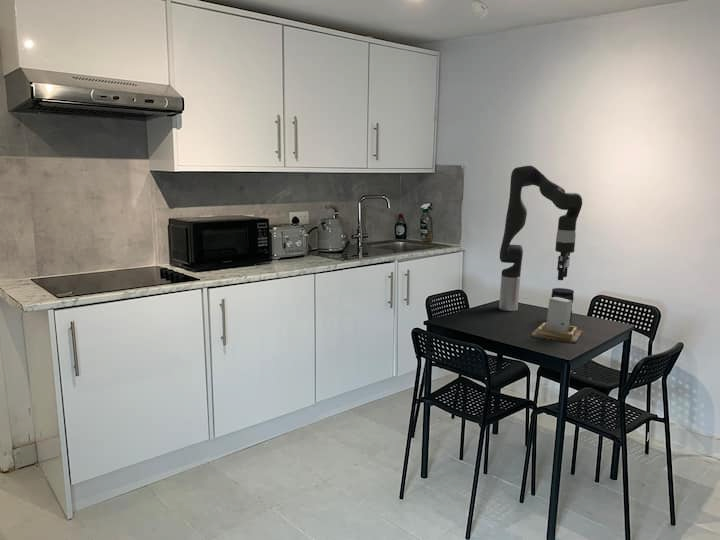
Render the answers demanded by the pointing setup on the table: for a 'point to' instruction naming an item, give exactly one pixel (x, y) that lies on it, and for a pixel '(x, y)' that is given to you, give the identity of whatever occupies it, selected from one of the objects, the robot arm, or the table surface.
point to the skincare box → (558, 314)
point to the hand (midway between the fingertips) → (562, 278)
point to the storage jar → (563, 295)
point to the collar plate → (558, 334)
